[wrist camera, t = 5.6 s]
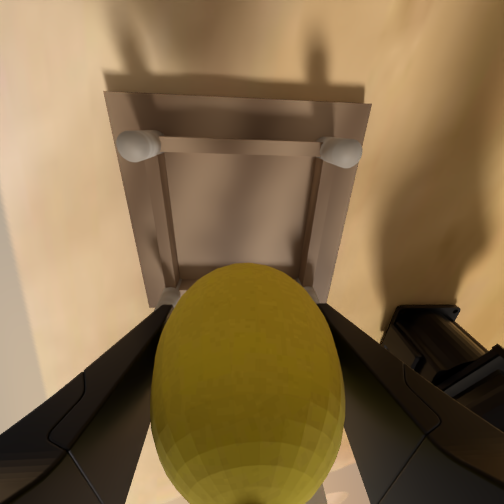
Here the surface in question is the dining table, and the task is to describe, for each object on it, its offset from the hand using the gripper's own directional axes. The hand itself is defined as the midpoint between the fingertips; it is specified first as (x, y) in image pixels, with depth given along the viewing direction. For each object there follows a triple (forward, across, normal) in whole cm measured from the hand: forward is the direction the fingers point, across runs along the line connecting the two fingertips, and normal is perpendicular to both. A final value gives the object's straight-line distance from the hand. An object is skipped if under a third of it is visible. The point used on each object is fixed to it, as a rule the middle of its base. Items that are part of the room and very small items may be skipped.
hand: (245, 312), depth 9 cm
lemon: (+2, 0, 0) cm, 2 cm away
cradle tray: (+11, 0, 0) cm, 11 cm away
